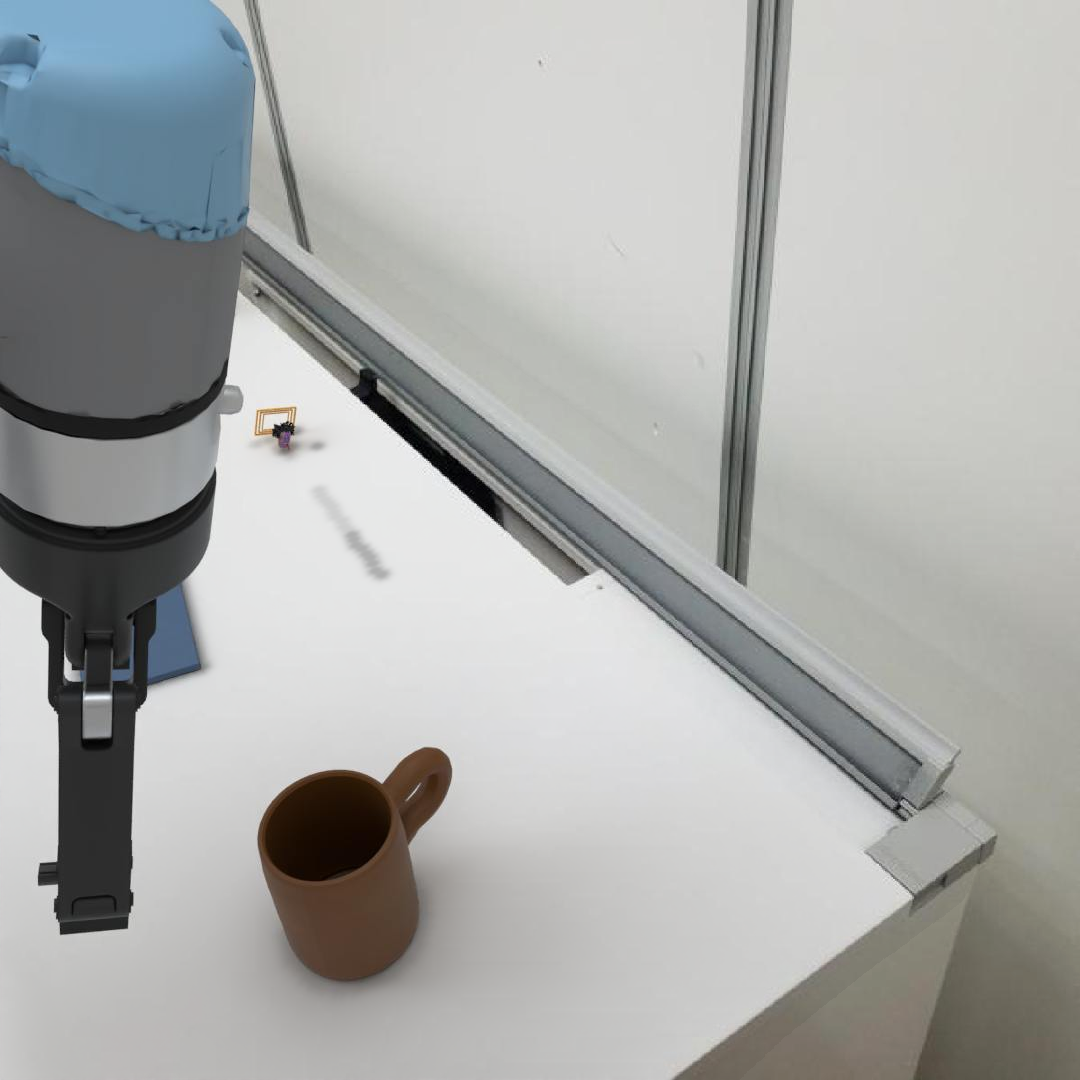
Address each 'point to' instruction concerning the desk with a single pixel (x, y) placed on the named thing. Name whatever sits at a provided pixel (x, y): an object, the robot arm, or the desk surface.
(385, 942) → the mug
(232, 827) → the desk surface
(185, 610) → the blue rectangular board
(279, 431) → the purple figurine with frame
